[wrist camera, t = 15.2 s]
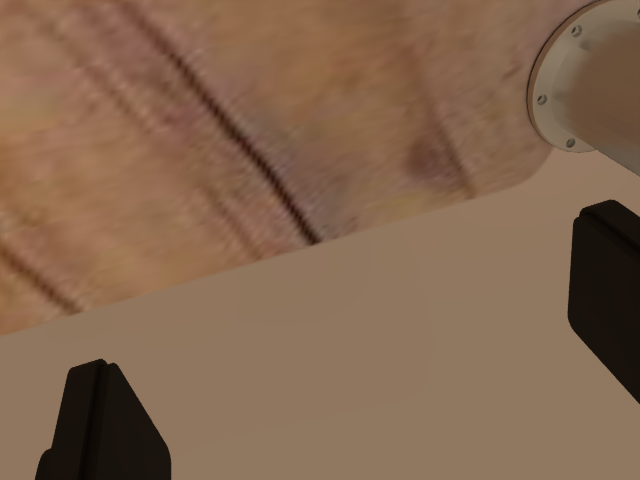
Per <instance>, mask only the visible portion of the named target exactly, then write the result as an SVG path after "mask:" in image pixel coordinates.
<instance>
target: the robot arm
mask: <svg viewBox="0 0 640 480" xmlns="http://www.w3.org/2000/svg"><path fill="white" fill-rule="evenodd" d="M527 103H528V110H529V116H530V119H531V121H532V124H533V126H534V128H535V129H536V131H537V132H538V134H539V135H540V136H541V137H542V138H544V139H545V140H546V141H547V142H548V143H550V144H552V145H553V146H555V147H557V148H558V149H561V150H564V151H567V152H578V153H580V152H589V151H593V150H598V151H599V152H601V153H603V154H605V155H606V156H608V157H609V158H611V159H612V160H614V161H616V162H617V163H619V164H620V165H622V166H624V167H625V168H627V169H629V170H630V171H632V172H634V173H635V174H637V175H638V176H640V0H600V1H597V2H595V3H593V4H591V5H588V6H586V7H584V8H582V9H581V10H580V11H578V12H577V13H575V14H574V15H573V16H571V17H570V18H569V19H568V20H567V21H565V22H564V23H563V24H562V25H561V26H560V27H559V28H558V29H557V30H556V31H555V33H554V34H553V35H552V37H551V38H550V39H549V40H548V42H547V43H546V44H545V46H544V48H543V50H542V51H541V53H540V55H539V57H538V58H537V61H536V63H535V66H534V68H533V71H532V73H531V78H530V82H529V87H528V100H527ZM568 320H569V323H570V325H571V327H572V329H573V330H574V332H575V333H576V334H577V335H578V336H579V337H580V338H581V340H582V341H583V342H584V343H585V344H586V345H587V346H588V347H589V349H590V350H591V351H592V352H593V353H594V354H595V355H596V356H597V357H598V358H599V360H600V361H601V362H602V363H603V364H604V365H605V366H606V367H607V368H608V369H609V371H610V372H611V373H612V374H613V375H614V376H615V377H616V378H617V380H618V381H619V382H620V383H621V384H622V385H623V386H624V387H625V388H626V390H627V391H628V392H629V393H630V394H631V395H632V396H633V397H634V398H635V400H636V401H637V402H638V403H639V404H640V217H639V216H637V215H636V214H635V213H633V212H632V211H630V210H629V209H628V208H626V207H625V206H623V205H622V204H620V203H619V202H617V201H615V200H607V201H604V202H601V203H598V204H594V205H591V206H588V207H585V208H583V209H582V210H581V211H580V214H579V217H577V218H576V219H575V220H574V223H573V235H572V252H571V267H570V283H569V300H568ZM35 480H171V458H170V453H169V450H168V447H167V445H166V443H165V442H164V440H163V438H162V437H161V435H160V433H159V432H158V430H157V429H156V427H155V426H154V424H153V423H152V420H151V419H150V417H149V415H148V414H147V412H146V411H145V409H144V407H143V406H142V404H141V402H140V401H139V399H138V398H137V396H136V394H135V393H134V391H133V389H132V388H131V386H130V385H129V383H128V381H127V380H126V378H125V376H124V375H123V373H122V372H121V370H120V368H119V367H118V365H117V364H115V363H111V364H107V363H106V361H105V360H103V359H98V360H95V361H92V362H88V363H85V364H82V365H79V366H76V367H72V368H71V369H70V370H69V372H68V375H67V380H66V384H65V388H64V393H63V397H62V402H61V406H60V411H59V415H58V420H57V425H56V429H55V434H54V439H53V443H52V447H51V449H48V450H46V451H45V452H44V453H43V454H42V456H41V458H40V461H39V464H38V468H37V472H36V476H35Z"/></svg>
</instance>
